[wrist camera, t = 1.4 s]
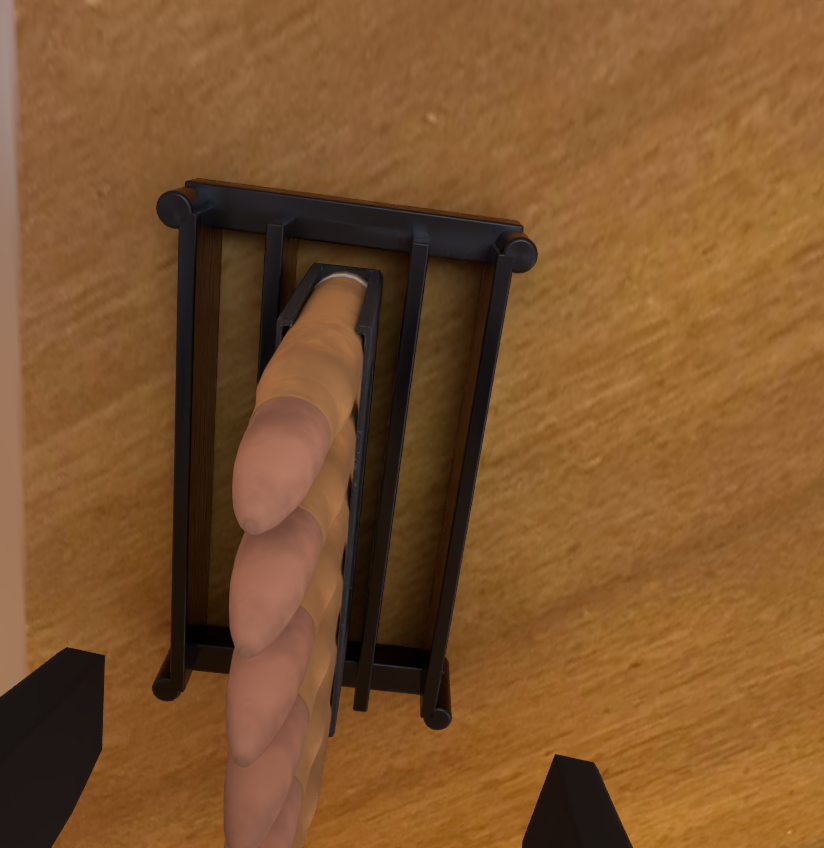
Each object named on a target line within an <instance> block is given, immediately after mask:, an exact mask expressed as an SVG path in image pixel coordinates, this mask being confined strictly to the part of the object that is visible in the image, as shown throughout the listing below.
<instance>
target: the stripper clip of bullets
mask: <svg viewBox="0 0 824 848" xmlns="http://www.w3.org/2000/svg"><path fill="white" fill-rule="evenodd" d="M382 285H383V275H382V273H381V271H380V270H375V269H366V268H357V267H347V266H338V265H329V264H320V263H314V264H313V265H312V266H311V268H310V269H309V271H308V272H307V274H306V275H305V277H304V279H303V280H302V282H301V283H300V285H299V286H298V288H297V289H296V291H295V292H294V294H293V296H292V297H291V299H290V300H289V302H288V303H287V305H286V306H285V308H284V310H283V311H282V313H281V314H280V316H279V317H278V319H277V326H276V348H275V353H274V355H273V356H272V358H271V360H270V361H269V363H268V365H267V366H266V368H265V370H264V372H263V374H262V377H261V379H260V381H259V384H258V386H257V390H256V407H255V409H254V411H253V414H252V416H251V418H250V420H249V426H248V428H247V430H246V432H245V434H244V436H243V439H242V441H241V443H240V446H239V449H238V452H237V456H236V460H235V464H234V470H233V481H232V496H233V509H234V512H235V516H236V518H237V521H238V523H239V525H240V527H241V528H242V529H243V530H244V531H245V533H244V535H243V538H242V541H241V543H240V546H239V548H238V551H237V554H236V558H235V562H234V567H233V572H232V576H231V583H230V595H229V623H230V631H231V637H232V639H233V642H234V645H235V648H234V652H233V656H232V661H231V667H230V673H229V678H228V686H227V700H226V727H227V739H228V745H229V752H228V759H227V765H226V771H225V783H224V832H225V846H224V848H303V845H304V841H305V836H306V834H307V831H308V829H309V826H310V824H311V821H312V819H313V816H314V813H315V811H316V808H317V804H318V799H319V793H320V787H321V780H322V774H323V767H324V761H325V754H326V748H327V741H328V737H333V735H334V733H335V726H336V719H337V712H338V705H339V698H340V691H341V684H342V677H343V669H344V662H345V655H346V648H347V641H348V634H349V627H350V620H351V610H352V599H353V589H354V578H355V568H356V557H357V547H358V536H359V526H360V515H361V505H362V494H363V484H364V474H365V463H366V453H367V442H368V432H369V421H370V411H371V400H372V390H373V379H374V369H375V358H376V348H377V337H378V327H379V316H380V306H381V295H382Z"/></svg>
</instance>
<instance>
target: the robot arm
mask: <svg viewBox="0 0 824 848" xmlns="http://www.w3.org/2000/svg"><path fill="white" fill-rule="evenodd" d="M104 666H105V655H101V654H96V653H91V652H87V651H82V650H78V649H73V648H69V647H67V648H65V649H63V650H61V651H60V652H58V653H57V654H56V655H55V656H53V657H52V658H51V659H49V660H48V661H47V662H45V663H44V664H43V665H41V666H40V667H39V668H38V669H36V670H35V671H34V672H32V673H31V674H30V675H29V676H27V677H26V678H25V679H23V680H22V681H21V682H19V683H18V684H17V685H15V686H14V687H13V688H12V689H10V690H9V691H8V692H6V693H5V694H4V695H2V696H1V697H0V848H51V847H52V845H53V844H54V842H55V840H56V839H57V837H58V835H59V834H60V832H61V830H62V829H63V827H64V825H65V824H66V822H67V820H68V819H69V817H70V815H71V814H72V812H73V810H74V808H75V806H76V803H77V801H78V799H79V797H80V795H81V793H82V791H83V789H84V787H85V785H86V783H87V781H88V779H89V776H90V774H91V772H92V770H93V768H94V766H95V763H96V761H97V759H98V757H99V755H100V753H101V750H102V736H103V701H104ZM522 848H633V847H632V844H631V842H630V840H629V838H628V836H627V834H626V832H625V829H624V827H623V825H622V823H621V821H620V818H619V816H618V814H617V812H616V810H615V807H614V805H613V803H612V800H611V798H610V796H609V794H608V791H607V789H606V787H605V784H604V782H603V780H602V777H601V775H600V773H599V770H598V768H597V767H596V765H595V764H594V762H589V761H585V760H580V759H575V758H571V757H566V756H562V755H557V754H555V756H554V759H553V761H552V764H551V767H550V769H549V772H548V775H547V777H546V780H545V783H544V785H543V788H542V791H541V793H540V796H539V799H538V801H537V804H536V807H535V809H534V812H533V815H532V817H531V820H530V823H529V825H528V828H527V831H526V833H525V836H524V839H523V841H522Z"/></svg>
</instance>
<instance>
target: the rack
mask: <svg viewBox="0 0 824 848" xmlns="http://www.w3.org/2000/svg"><path fill="white" fill-rule="evenodd" d="M156 210H157V214H158V217H159V219H160V220H161V221H162V222H163V223H164V224H165V225H166V226H168V227H170V228H174V229H179V239H178V291H177V343H176V395H175V448H174V500H173V552H172V604H171V647H170V649H169V651H168V653H167V655H166V657H165V660H164V662H163V664H162V666H161V668H160V670H159V672H158V674H157V676H156V679H155V681H154V683H153V685H152V691H153V694H154V695H155V696H156V697H157V698H158V699H160V700H162V701H173V700H175V699H176V698H178V697H179V695H180V694H181V692H184V690H185V688H186V685H187V683H188V680H189V678H190V676H191V673H192V671H193V670H195V671H205V672H214V673H223V674H229V673H230V667H231V661H232V656H233V652H234V648H235V645H234V642H233V639H232V637H231V631H230V628H229V627H220V626H211V625H207V608H208V582H209V557H210V531H211V505H212V480H213V454H214V429H215V403H216V377H217V352H218V326H219V301H220V275H221V249H222V229H227V230H235V231H242V232H250V233H257V234H265V235H266V239H265V256H264V273H263V290H262V307H261V324H260V341H259V358H258V375H257V386H258V384H259V381H260V379H261V377H262V374H263V372H264V370H265V368H266V366H267V365H268V363H269V361H270V360H271V358H272V356H273V355H274V353H275V348H276V326H277V319H278V317H279V316H280V314H281V313H282V311H283V310H284V308H285V306H286V305H287V303H288V302H289V300H290V299H291V297H292V296H293V294H294V291H295V278H296V264H297V251H298V239H303V240H311V241H318V242H326V243H334V244H341V245H349V246H357V247H364V248H372V249H379V250H387V251H395V252H402V253H409V261H408V269H407V277H406V285H405V293H404V301H403V308H402V316H401V324H400V332H399V340H398V348H397V356H396V364H395V372H394V380H393V388H392V396H391V404H390V412H389V420H388V428H387V435H386V443H385V451H384V459H383V467H382V475H381V483H380V491H379V499H378V507H377V515H376V523H375V531H374V539H373V547H372V555H371V563H370V570H369V578H368V586H367V594H366V602H365V610H364V618H363V626H362V634H361V642H356V641H347V648H346V655H345V662H344V669H343V677H342V684H341V686H343V687H352V688H355V695H354V704H353V710H354V711H363V712H366V711H367V708H368V700H369V693H370V689H371V690H380V691H389V692H399V693H408V694H417V695H420V716H421V718H424V722H425V724H426V725H427V726H428V727H429V728H431V729H434V730H442V729H444V728H446V727H447V726H448V725H449V724H450V722H451V720H452V712H451V695H450V677H449V663H448V660H447V659H446V657H445V654H446V648H447V643H448V637H449V631H450V625H451V620H452V614H453V608H454V602H455V597H456V591H457V585H458V580H459V574H460V568H461V562H462V557H463V551H464V545H465V540H466V534H467V528H468V522H469V517H470V511H471V505H472V500H473V494H474V488H475V482H476V477H477V471H478V465H479V460H480V454H481V448H482V442H483V437H484V431H485V425H486V420H487V414H488V408H489V402H490V397H491V391H492V385H493V380H494V374H495V368H496V362H497V357H498V351H499V345H500V340H501V334H502V328H503V322H504V317H505V311H506V305H507V300H508V294H509V288H510V282H511V277H512V272H513V273H524V272H527V271H529V270H530V269H531V268H532V267H533V266H534V265H535V263H536V261H537V256H538V252H537V248H536V246H535V244H534V243H533V242H532V241H531V240H530V239H529V238H528V237H527V236H526V235H525V234H524V233H523V226H522V225H521V224H520V223H519V222H518V221H515V220H507V219H500V218H492V217H485V216H477V215H470V214H463V213H455V212H448V211H440V210H433V209H425V208H418V207H410V206H403V205H395V204H388V203H380V202H373V201H365V200H358V199H350V198H343V197H335V196H328V195H320V194H313V193H305V192H298V191H290V190H283V189H275V188H268V187H260V186H253V185H246V184H238V183H231V182H223V181H216V180H208V179H201V178H196V179H192V180H188V181H186V182H185V187H183V188H179V189H175V190H171V191H168V192H165V193H164V194H162V195H161V196H160V197H159V199H158V201H157V205H156ZM428 256H433V257H440V258H448V259H456V260H463V261H471V262H478V263H484V267H483V273H482V279H481V285H480V291H479V298H478V304H477V310H476V316H475V322H474V329H473V335H472V341H471V347H470V354H469V360H468V366H467V372H466V378H465V385H464V391H463V397H462V403H461V409H460V416H459V422H458V428H457V434H456V440H455V447H454V453H453V459H452V465H451V471H450V478H449V484H448V490H447V496H446V502H445V509H444V515H443V521H442V527H441V534H440V540H439V546H438V552H437V558H436V565H435V571H434V577H433V583H432V589H431V596H430V602H429V608H428V614H427V620H426V627H425V633H424V639H423V645H422V649H419V648H410V647H401V646H392V645H383V644H376V641H377V634H378V626H379V619H380V611H381V604H382V597H383V589H384V582H385V574H386V567H387V559H388V552H389V545H390V537H391V530H392V522H393V515H394V508H395V500H396V493H397V485H398V478H399V470H400V463H401V456H402V448H403V441H404V433H405V426H406V419H407V411H408V404H409V396H410V389H411V382H412V374H413V367H414V359H415V352H416V344H417V337H418V330H419V322H420V315H421V307H422V300H423V293H424V285H425V278H426V270H427V263H428Z"/></svg>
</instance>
